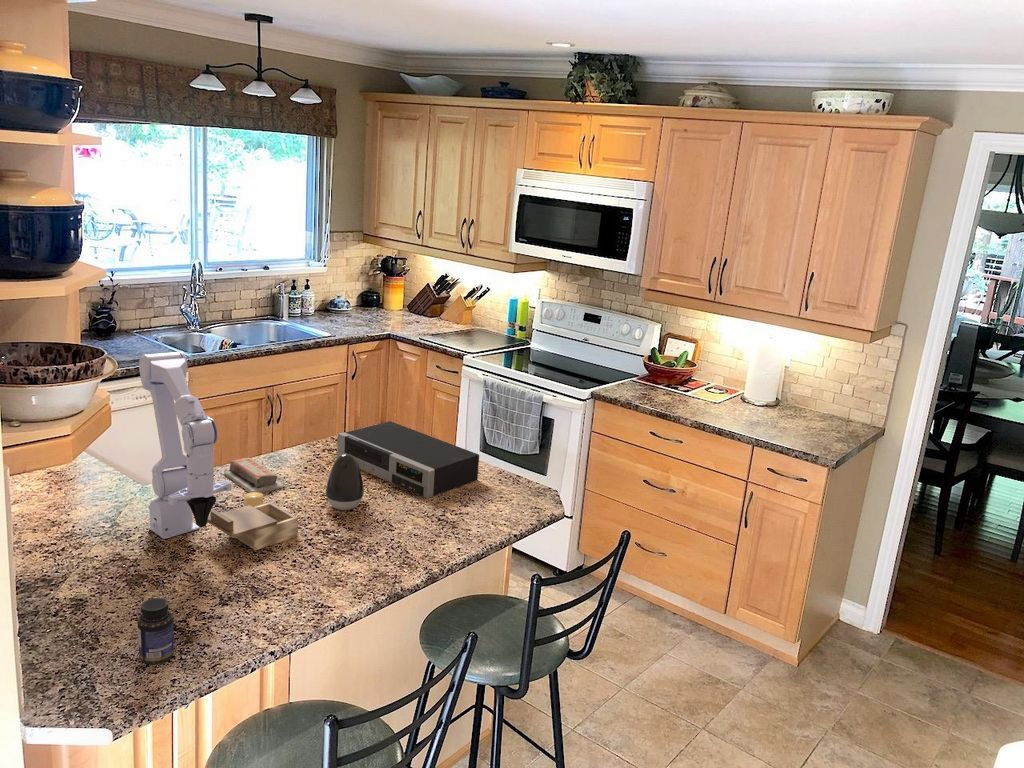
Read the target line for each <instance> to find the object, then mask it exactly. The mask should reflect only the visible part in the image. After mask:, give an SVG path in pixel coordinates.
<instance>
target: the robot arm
mask: <svg viewBox="0 0 1024 768" xmlns="http://www.w3.org/2000/svg"><path fill="white" fill-rule="evenodd" d="M138 370H139V376H140V381H141V385H142V388H143V390H145V391H148V392H150V396H151V399H152V405H153V409H154V410H153V411H154V416H155V417H154V418H155V422H156V429H157V434H158V439H159V447H160V452H161V458H160V459H159V460H158V461H157V462H156V463H155V464H154V465H153V467H152V469H151V474H152V479H151V480H152V481H151V482H152V484H151V485H152V488H153V492H154V494H155V496H156V497H157V498H155V499H153V500H151V501H150V503H149V526H148V529H149V530H150V531H151V532H154V534H156V535H158V536H159V537H160V538H161V539H165V540H166V539H169V538H173V537H177V536H180V535H182V534H186V533H189V532H192V531H193V532H194V531H196V530H199V529H200V528H205V527H207V524H208V522H207V520H208V517H209V516H210V514H211V511H212V510H213V506H215V503H216V502H217V497H216V496H215V495H214V494H217V493H221V492H224V491H225V492H229V491H232V482H230V481H229V480H227V479H226V480H221V481H215V479H214V475H215V473H214V471H215V470H214V444H216V443H217V441H218V438H219V437H218V427H217V424H216V421H215V420H214V419H213V418H212V417H210V416H209V415H206V412H205V410H204V409H203V406H202V404H201V402H200V400H199V399H198V398H197V397H196V396H194V395H192V394H191V391H190V388H189V385H188V383H187V380H186V377H187V373H188V360H187V356H186V355H185V353H184V352H183V351H181V350H178V351H174V352H172V351H171V352H163V353H161V352H160V353H159V352H158V353H150V354H146V353H143V354H141V356H140V357H139V365H138ZM178 422H179V424H180V426H181V428H182V429H181V435H180V427H179V424H178ZM181 437H182V440H181ZM182 441H183V444H182ZM182 445H183V446H182ZM182 447H183V448H182ZM183 450H184V453H185V454H186V455H185V454H184V453H183ZM179 467H180V468H179ZM193 518H194V520H195V522H194V521H193Z"/></svg>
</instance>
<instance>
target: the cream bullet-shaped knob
mask: <svg viewBox="0 0 1024 768" xmlns="http://www.w3.org/2000/svg"><path fill="white" fill-rule="evenodd" d="M243 501H244V503H243V504H244V505H243V507H244V506H248V505H251V506H252V507H256V506H259V505H262V504H264V494H263V493H258V492H252V493H249V492H247V493H245V494H244V496H243Z"/></svg>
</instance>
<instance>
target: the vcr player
mask: <svg viewBox="0 0 1024 768" xmlns="http://www.w3.org/2000/svg"><path fill="white" fill-rule="evenodd" d="M336 441H337V446H336V448H337V450H336V458H337V457H338V456H340V455H342V454H350V455H352V456H353V457H354V458H355V459H356V461H357V463H358V465H359V468H360V470H361V471H364V472H366V473H368V474H371V475H372V476H375V477H378V478H380V479H382V480H384V481H386V482H389V483H392V484H393V485H396V486H399V487H400V488H403V489H404V490H407V491H409V490H410V492H412V493H414V494H416V495H418V494H419V496H421V497H423V498H425V499H427V500H428V499H430V498H433V497H435V496H437V495H440V494H444V493H446V492H448V491H451V490H453V489H456V488H460V487H462V486H465V485H468V484H471V483H473V482H476V481H478V475H479V462H480V454H478V453H475V452H474V451H471V450H468V449H465V448H462V447H460V446H457V445H455V444H452V443H449V442H446V441H444V440H441V439H439V438H437V437H435V436H431V435H428V434H425V433H423V432H420V431H417V430H415V429H412V428H410V427H406V426H404V425H401V424H399V423H396V422H393V421H391V420H390V421H385V422H381V423H378V424H374V425H370V426H366V427H362V428H358V429H354V430H350V431H346V432H339V433H337V440H336Z"/></svg>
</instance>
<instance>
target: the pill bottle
mask: <svg viewBox="0 0 1024 768" xmlns="http://www.w3.org/2000/svg"><path fill="white" fill-rule="evenodd" d="M169 608H170V606H169V601H168V600H167V599H166V598H164V597H154V598H149V599H146V600H144V601H143V602H142V603H141V606H140V612H141V614H140V615H139V617H138V618H137V641H138V643H137V644H138V658H139V660H140V661H141V662H142V663H144V664H147V665H159V664H163V663H166V662H168V661H169V660H171V659H172V658H173V657H174V655H175V640H174V639H175V638H174V637H175V636H174V635H175V634H174V633H175V632H174V616H173V614H172V612H171V611H170V610H169Z"/></svg>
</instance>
